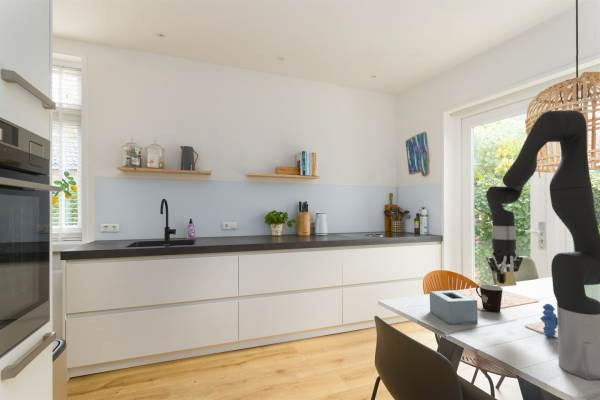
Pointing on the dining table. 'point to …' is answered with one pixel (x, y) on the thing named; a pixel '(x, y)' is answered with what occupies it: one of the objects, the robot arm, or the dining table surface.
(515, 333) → the dining table surface
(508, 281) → the tan wooden block
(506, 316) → the dining table surface
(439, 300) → the box
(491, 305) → the coffee mug
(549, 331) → the grapes
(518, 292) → the dining table surface
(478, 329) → the dining table surface
